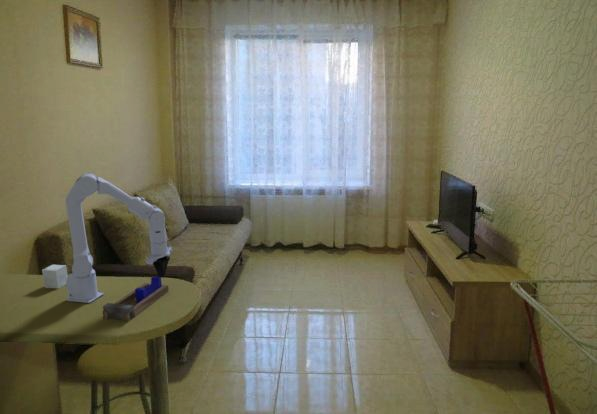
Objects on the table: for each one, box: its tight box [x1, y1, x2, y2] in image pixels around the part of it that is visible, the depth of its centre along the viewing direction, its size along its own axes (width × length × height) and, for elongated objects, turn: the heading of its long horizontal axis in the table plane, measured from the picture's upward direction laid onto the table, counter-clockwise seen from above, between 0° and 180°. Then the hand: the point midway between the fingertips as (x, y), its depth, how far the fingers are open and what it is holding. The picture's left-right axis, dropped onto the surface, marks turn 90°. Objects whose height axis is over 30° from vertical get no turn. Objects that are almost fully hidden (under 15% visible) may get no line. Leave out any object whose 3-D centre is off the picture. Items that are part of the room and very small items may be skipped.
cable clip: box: [134, 275, 163, 305], centre depth 162 cm, size 12×4×6 cm, turn 168°
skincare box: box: [41, 264, 69, 290], centre depth 176 cm, size 6×6×7 cm
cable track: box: [101, 282, 169, 322], centre depth 158 cm, size 9×24×4 cm, turn 165°
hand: (162, 276), depth 173 cm, fingers closed
